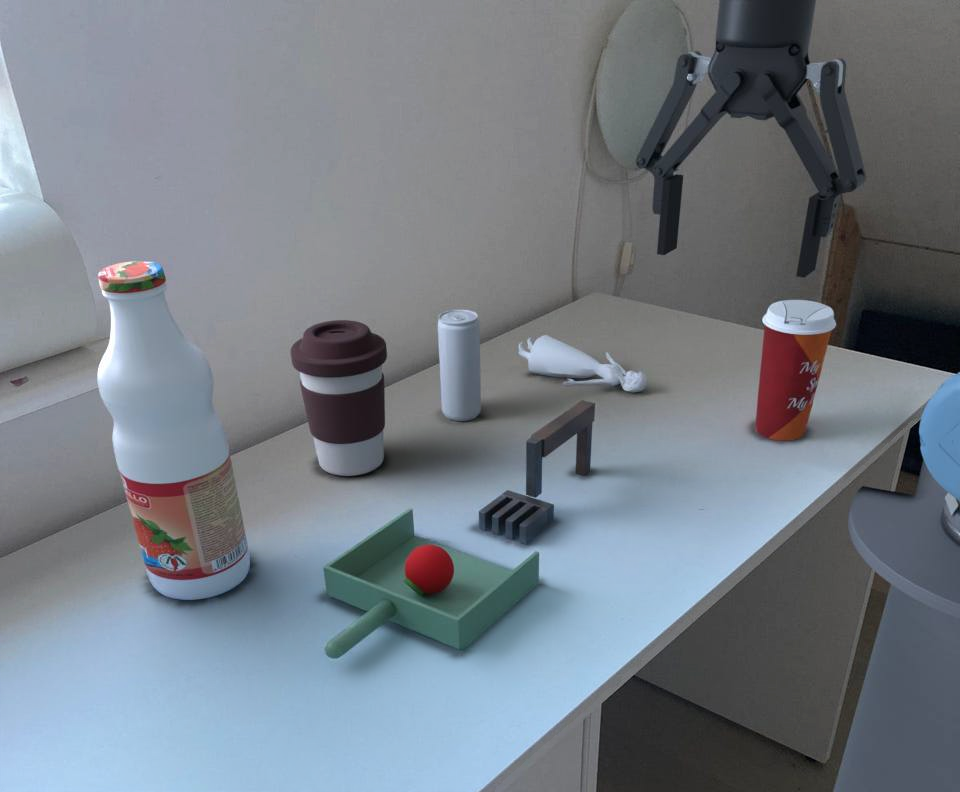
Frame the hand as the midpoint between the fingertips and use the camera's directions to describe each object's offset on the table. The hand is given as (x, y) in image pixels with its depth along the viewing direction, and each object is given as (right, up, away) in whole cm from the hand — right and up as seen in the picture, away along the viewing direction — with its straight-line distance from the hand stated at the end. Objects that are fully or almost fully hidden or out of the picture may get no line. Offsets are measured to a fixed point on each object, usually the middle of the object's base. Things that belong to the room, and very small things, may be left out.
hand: (733, 262), depth 90 cm
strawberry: (-28, -29, -3) cm, 40 cm away
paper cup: (+11, -11, +23) cm, 28 cm away
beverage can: (-26, -8, +29) cm, 39 cm away
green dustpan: (-30, -32, -4) cm, 44 cm away
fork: (-17, -21, +11) cm, 29 cm away
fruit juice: (-50, -29, +2) cm, 57 cm away
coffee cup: (-38, -15, +19) cm, 45 cm away
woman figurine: (-10, -1, +37) cm, 38 cm away
